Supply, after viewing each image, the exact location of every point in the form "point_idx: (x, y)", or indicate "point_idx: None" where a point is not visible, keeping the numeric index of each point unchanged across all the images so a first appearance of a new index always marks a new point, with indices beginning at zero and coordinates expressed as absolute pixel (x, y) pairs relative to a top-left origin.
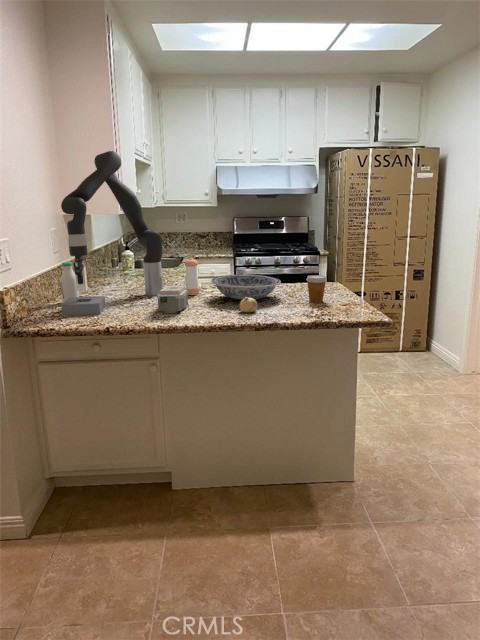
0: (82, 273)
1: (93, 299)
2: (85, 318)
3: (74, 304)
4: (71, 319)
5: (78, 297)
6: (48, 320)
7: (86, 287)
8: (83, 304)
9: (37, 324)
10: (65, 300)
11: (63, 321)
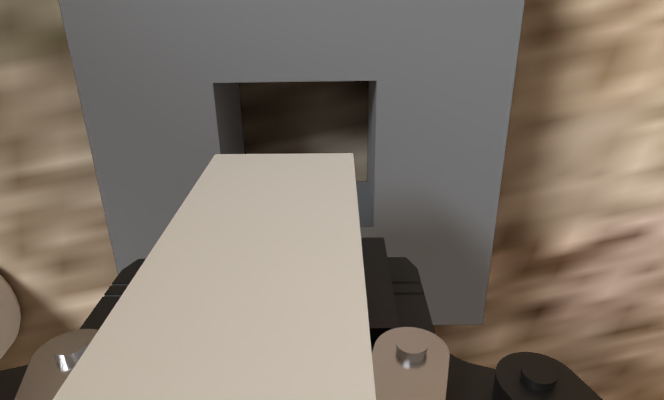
0: (381, 362)
1: (263, 51)
2: (610, 60)
3: (496, 214)
4: (597, 176)
5: (128, 245)
6: (560, 330)
7: (299, 168)
8: (507, 122)
9: (652, 367)
10: (3, 352)
11: (641, 223)
